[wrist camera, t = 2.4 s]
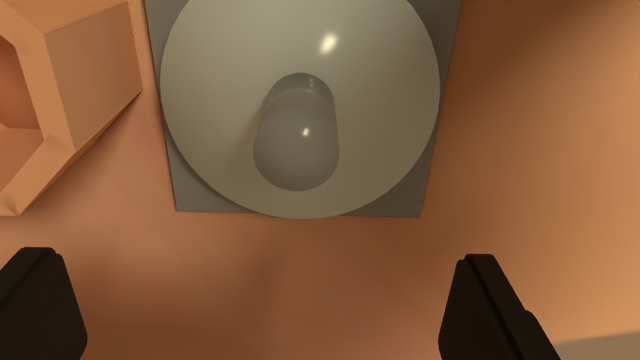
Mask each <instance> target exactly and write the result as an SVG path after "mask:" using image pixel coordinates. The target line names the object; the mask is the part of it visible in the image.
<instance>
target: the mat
mask: <svg viewBox="0 0 640 360" xmlns="http://www.w3.org/2000/svg"><path fill="white" fill-rule="evenodd" d="M407 1H408V2H409V3H410V5H411V6H412V7H413V8H414V10H415V11H416V13H417V14H418V16H419V18H420V19H421V21H422V22H423V24H424V26H425V28H426V30H427V32H428V35H429V37H430V39H431V41H432V44H433V48H434V51H435V54H436V57H437V63H438V69H439V76H440V98H439V106H438V113H437V117H436V121H435V125H434V128H433V131H432V133H431V136H430V138H429V141H428V143H427V145H426V147H425V149H424V150H423V152H422V154H421V156H420V157H419V159H418V160H417V162H416V163H415V164H414V166H413V167H412V168H411V170H410V171H409V172H408V173H407V174H406V175H405V176H404V177H403V178H402V179H401V180H400V181H399V182H398V183H397V184H396V185H395V186H394V187H392V188H391V189H390V190H389V191H388V192H386V193H385V194H383V195H382V196H380V197H379V198H377V199H376V200H374V201H372V202H370V203H368V204H366V205H364V206H362V207H360V208H358V209H355V210H352V211H349V212H347V213H344V214H340V215H342V216H376V217H409V218H420V215H421V210H422V205H423V200H424V195H425V189H426V184H427V179H428V174H429V169H430V163H431V158H432V153H433V148H434V142H435V137H436V132H437V127H438V122H439V116H440V111H441V106H442V101H443V96H444V90H445V85H446V80H447V75H448V70H449V64H450V59H451V54H452V49H453V43H454V38H455V33H456V28H457V23H458V17H459V12H460V7H461V2H462V0H407ZM188 2H189V0H145V7H146V13H147V20H148V26H149V33H150V39H151V46H152V52H153V59H154V65H155V72H156V78H157V85H158V91H159V98H160V104H161V111H162V117H163V124H164V130H165V137H166V143H167V150H168V156H169V163H170V169H171V176H172V182H173V189H174V195H175V202H176V208H177V211H208V212H242V213H259V212H256V211H253V210H250V209H248V208H246V207H243V206H241V205H239V204H237V203H235V202H233V201H232V200H230V199H228V198H226V197H224V196H223V195H222V194H220V193H219V192H217V191H216V190H215V189H213V188H212V187H211V186H210V185H208V184H207V183H206V182H205V181H204V180H203V179H202V178H201V177H200V176H199V175H198V174H197V173H196V172H195V171H194V170H193V168H192V167H191V166H190V165H189V164H188V162H187V161H186V160H185V158H184V157H183V155H182V154H181V152H180V151H179V149H178V147H177V145H176V143H175V141H174V139H173V137H172V135H171V133H170V130H169V128H168V125H167V122H166V119H165V115H164V111H163V106H162V102H161V90H160V75H161V63H162V58H163V53H164V48H165V45H166V42H167V40H168V37H169V34H170V31H171V29H172V27H173V25H174V23H175V21H176V20H177V18H178V16H179V14H180V12H181V11H182V10H183V8H184V7H185V6H186V4H187V3H188Z"/></svg>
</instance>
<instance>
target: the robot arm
mask: <svg viewBox="0 0 640 360" xmlns="http://www.w3.org/2000/svg"><path fill="white" fill-rule="evenodd" d="M86 344H87V332H86V329H85V325H84V322H83V319H82V316H81V313H80V310H79V307H78V304H77V301H76V297H75V294H74V291H73V288H72V285H71V282H70V279H69V276H68V273H67V269H66V266H65V263H64V260H63V258H62V256H61V255H60V254H56V252H55V250H53V249H52V248H49V247H24V248H21V249H20V250H19V251H18V252H17V253H16V254H15V255H14V256H13V257H12V258H11V259H10V260H9V261H8V263H7V264H6V265H5V266H4V267H3V268H2V269H1V270H0V360H79V359H80V358H81V356H82V354H83V352H84V350H85V348H86ZM438 345H439V351H440V354H441V358H442V360H561V359H560V358H559V356H558V354H557V353H556V351H555V349H554V347H553V346H552V344H551V342H550V341H549V339H548V337H547V336H546V334H545V332H544V331H543V329H542V327H541V326H540V324H539V322H538V321H537V319H536V318H535V316H534V315H533V314H532V313H531V312H529V311H528V310H525V309H524V307H523V305H522V304H521V302H520V300H519V298H518V297H517V295H516V293H515V291H514V290H513V288H512V286H511V285H510V283H509V281H508V279H507V278H506V276H505V274H504V273H503V271H502V269H501V267H500V266H499V264H498V262H497V261H496V259H495V257H494V256H493V255H491V254H467V255H466V256H465V258H464V260H459V261H458V262H457V265H456V269H455V273H454V277H453V281H452V285H451V289H450V293H449V297H448V301H447V305H446V309H445V313H444V317H443V321H442V325H441V329H440V333H439V338H438Z"/></svg>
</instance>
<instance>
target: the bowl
mask: <svg viewBox="0 0 640 360" xmlns="http://www.w3.org/2000/svg"><path fill="white" fill-rule="evenodd" d="M142 90H143V89H142V83H141V77H140V71H139V66H138V60H137V54H136V48H135V42H134V37H133V31H132V25H131V19H130V13H129V8H128V1H127V0H0V215H7V216H20V215H21V214H22V213H23V212H24V211H25V210H26V209H27V208H28V207H29V206H30V205H31V204H32V203H33V202H34V201H35V200H36V199H37V198H38V197H39V196H40V195H41V194H42V193H43V192H44V191H45V190H46V189H47V188H49V187H50V186H51V185H52V184H53V183H54V182H55V181H56V180H57V179H58V178H59V177H60V176H61V175H62V174H63V173H64V172H65V171H66V170H67V169H68V168H69V167H70V166H71V165H72V164H73V163H74V162H75V161H76V160H77V159H78V158H79V157H80V156H81V155H82V154H83V153H84V152H85V151H87V150H88V149H89V148H90V147H91V146H92V145H93V144H94V143H95V142H96V141H97V139H98V138H99V137H100V136H101V135H102V134H103V132H104V131H105V130H106V129H107V128H108V127H109V126H110V125H111V124H112V123H113V121H114V120H115V119H116V118H117V117H118V116H119V115H120V114H121V113H122V111H123V110H124V109H125V108H126V107H127V106H128V105H129V104H130V103H131V102H132V100H133V99H134V98H135V97H136V96H137V95H138V94H139V93H140V92H141V91H142Z"/></svg>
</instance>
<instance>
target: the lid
mask: <svg viewBox="0 0 640 360" xmlns="http://www.w3.org/2000/svg"><path fill="white" fill-rule="evenodd" d="M160 90H161V102H162V106H163V111H164V115H165V119H166V122H167V125H168V128H169V130H170V133H171V135H172V137H173V139H174V141H175V143H176V145H177V147H178V149H179V151H180V152H181V154H182V155H183V157H184V158H185V160H186V161H187V162H188V164H189V165H190V166H191V167H192V168H193V170H194V171H195V172H196V173H197V174H198V175H199V176H200V177H201V178H202V179H203V180H204V181H205V182H206V183H207V184H208V185H210V186H211V187H212V188H213V189H215V190H216V191H217V192H219V193H220V194H222V195H223V196H224V197H226V198H228V199H230V200H232V201H233V202H235V203H237V204H239V205H241V206H243V207H246V208H248V209H250V210H253V211H256V212H259V213H263V214H266V215H270V216H275V217H280V218H289V219H318V218H325V217H331V216H335V215H340V214H344V213H347V212H349V211H352V210H355V209H358V208H360V207H362V206H364V205H366V204H368V203H370V202H372V201H374V200H376V199H377V198H379V197H380V196H382V195H383V194H385V193H386V192H388V191H389V190H390V189H391V188H392V187H394V186H395V185H396V184H397V183H398V182H399V181H400V180H401V179H402V178H403V177H404V176H405V175H406V174H407V173H408V172H409V171H410V170H411V168H412V167H413V166H414V164H415V163H416V162H417V160H418V159H419V157H420V156H421V154H422V152H423V150H424V149H425V147H426V145H427V143H428V141H429V138H430V136H431V133H432V131H433V128H434V125H435V121H436V117H437V113H438V106H439V98H440V76H439V69H438V63H437V57H436V54H435V51H434V48H433V44H432V41H431V39H430V37H429V35H428V32H427V30H426V28H425V26H424V24H423V22H422V21H421V19H420V18H419V16H418V14H417V13H416V11H415V10H414V8H413V7H412V6H411V5H410V3H409V2H408V1H407V0H189V2H188V3H187V4H186V6H185V7H184V8H183V10H182V11H181V12H180V14H179V16H178V18H177V20H176V21H175V23H174V25H173V27H172V29H171V31H170V34H169V37H168V40H167V42H166V45H165V48H164V53H163V58H162V63H161V75H160Z"/></svg>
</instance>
